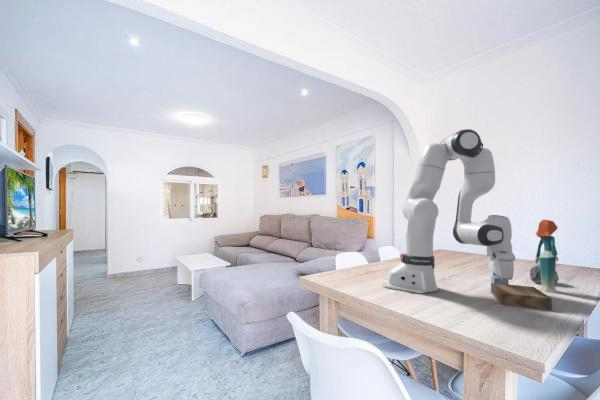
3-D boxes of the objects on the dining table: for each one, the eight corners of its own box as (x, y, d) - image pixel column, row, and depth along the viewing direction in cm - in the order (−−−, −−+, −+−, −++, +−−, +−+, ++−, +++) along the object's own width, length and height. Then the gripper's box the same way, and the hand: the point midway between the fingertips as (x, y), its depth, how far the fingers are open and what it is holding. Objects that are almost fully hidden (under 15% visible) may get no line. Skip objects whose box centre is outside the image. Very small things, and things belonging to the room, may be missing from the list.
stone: (548, 263, 120) (542, 258, 128) (526, 275, 124) (522, 270, 132) (567, 281, 116) (560, 275, 125) (544, 293, 120) (539, 287, 129)
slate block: (494, 289, 113) (494, 278, 114) (491, 286, 118) (490, 275, 118) (508, 291, 112) (508, 279, 112) (504, 288, 116) (504, 276, 116)
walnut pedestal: (502, 304, 96) (502, 293, 96) (491, 292, 109) (490, 283, 109) (551, 310, 91) (551, 298, 91) (533, 297, 104) (533, 286, 104)
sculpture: (568, 295, 106) (566, 220, 106) (548, 294, 107) (547, 220, 108) (545, 286, 118) (544, 218, 119) (528, 285, 120) (526, 218, 120)
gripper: (484, 248, 126) (484, 278, 126) (497, 256, 107) (498, 290, 107) (500, 249, 124) (500, 279, 123) (516, 257, 105) (517, 292, 104)
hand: (499, 284), depth 115 cm, fingers open, 8 cm apart
